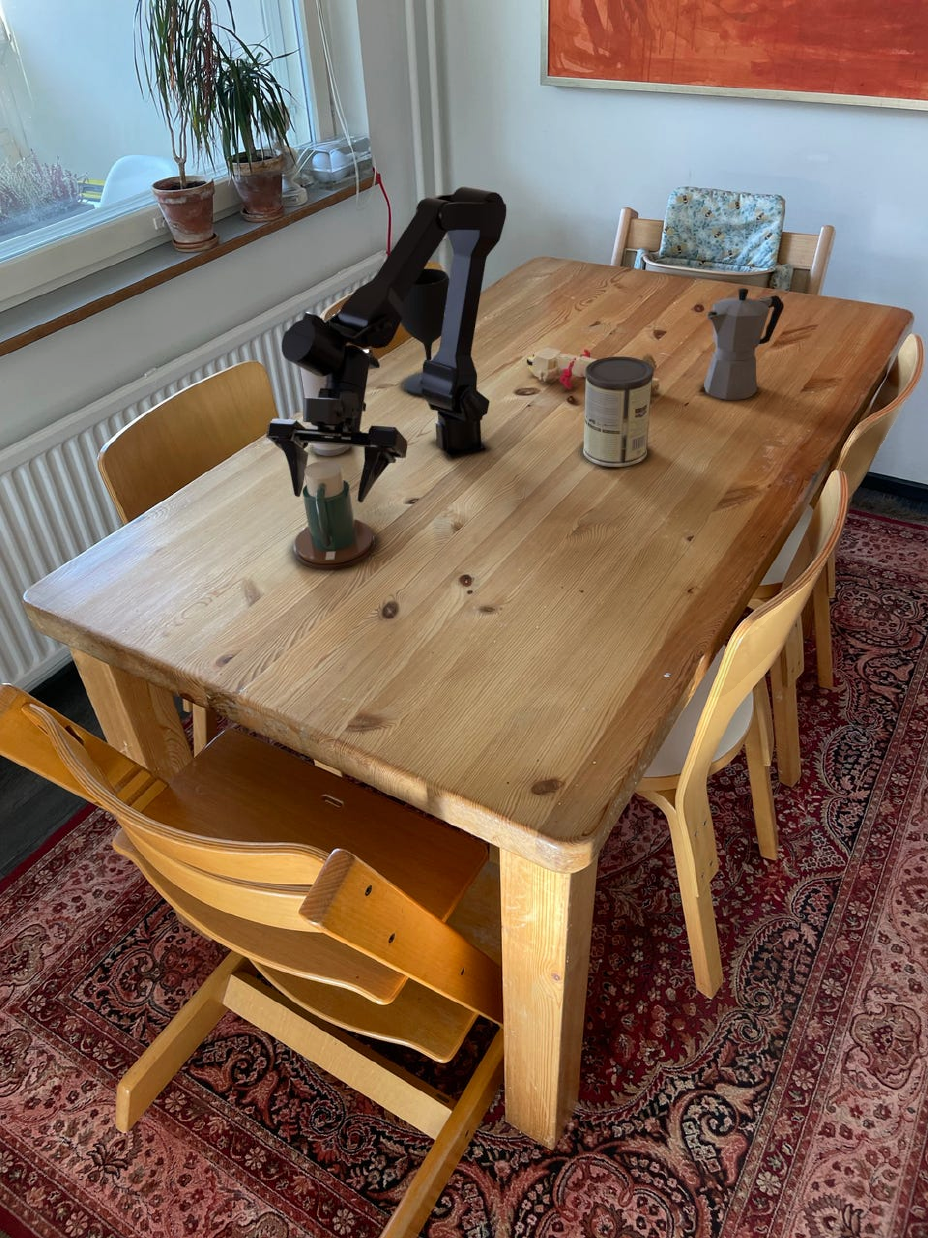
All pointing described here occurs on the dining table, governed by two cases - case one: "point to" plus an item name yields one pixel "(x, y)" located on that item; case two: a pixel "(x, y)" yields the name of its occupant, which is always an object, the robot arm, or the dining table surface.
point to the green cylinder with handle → (330, 518)
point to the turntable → (336, 565)
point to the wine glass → (425, 315)
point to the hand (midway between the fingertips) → (328, 499)
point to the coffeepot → (738, 343)
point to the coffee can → (617, 410)
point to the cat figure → (570, 366)
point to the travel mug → (310, 391)
